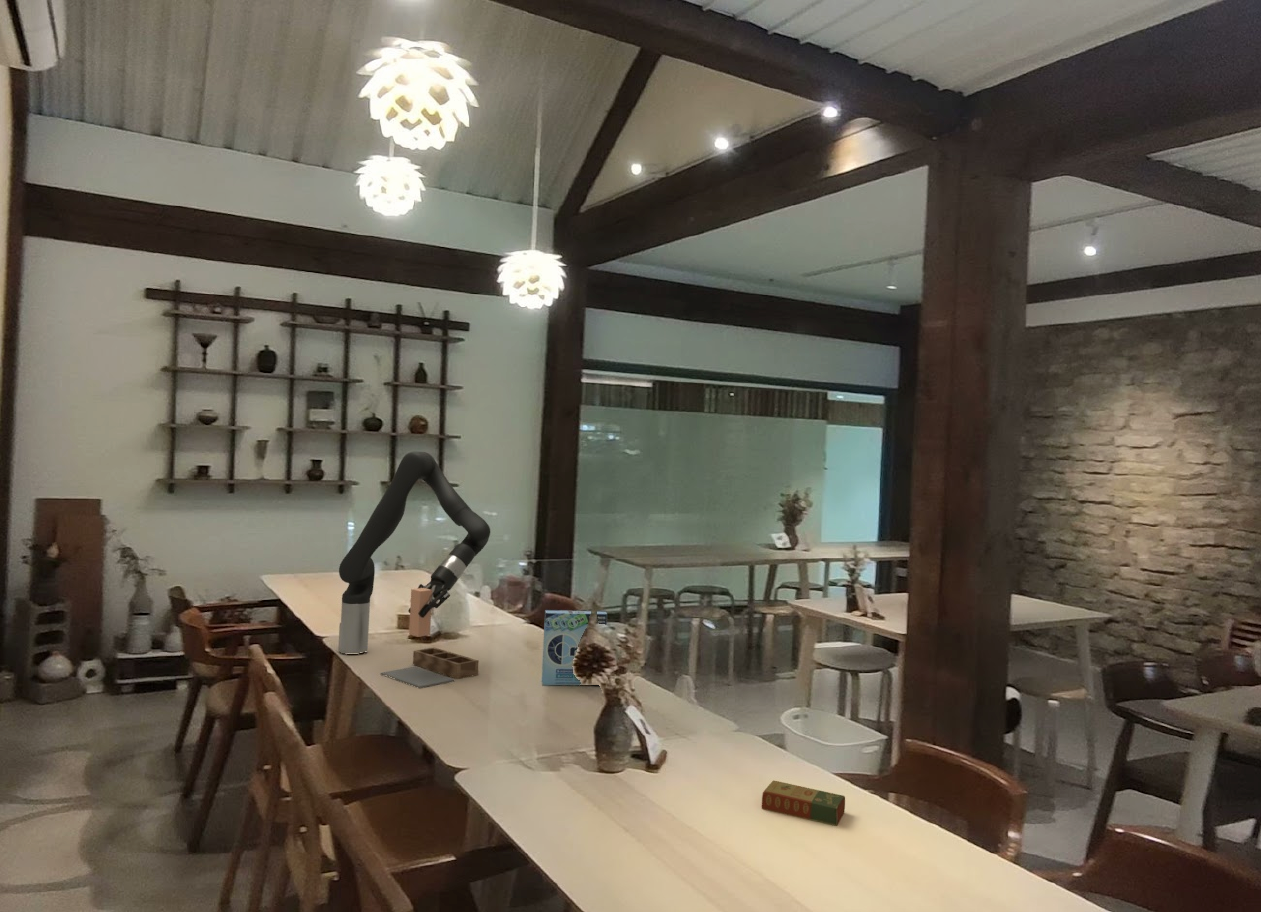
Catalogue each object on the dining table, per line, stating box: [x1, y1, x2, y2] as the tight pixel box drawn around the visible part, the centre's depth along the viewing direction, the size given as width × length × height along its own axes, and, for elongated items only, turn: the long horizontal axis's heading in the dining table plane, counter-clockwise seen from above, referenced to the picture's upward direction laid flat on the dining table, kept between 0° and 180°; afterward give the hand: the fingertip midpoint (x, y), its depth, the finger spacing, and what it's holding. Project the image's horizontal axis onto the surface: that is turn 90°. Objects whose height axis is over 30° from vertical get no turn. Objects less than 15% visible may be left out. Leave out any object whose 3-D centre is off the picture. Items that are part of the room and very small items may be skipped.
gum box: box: [541, 609, 608, 687], centre depth 283 cm, size 20×5×23 cm, turn 98°
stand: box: [412, 647, 480, 680], centre depth 292 cm, size 23×8×4 cm, turn 50°
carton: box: [761, 780, 846, 827], centre depth 192 cm, size 8×16×4 cm, turn 65°
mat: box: [380, 665, 456, 689], centre depth 281 cm, size 20×13×1 cm, turn 50°
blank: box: [408, 587, 432, 638], centre depth 280 cm, size 4×4×14 cm
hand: (415, 614), depth 279 cm, fingers closed on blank, 4 cm apart
